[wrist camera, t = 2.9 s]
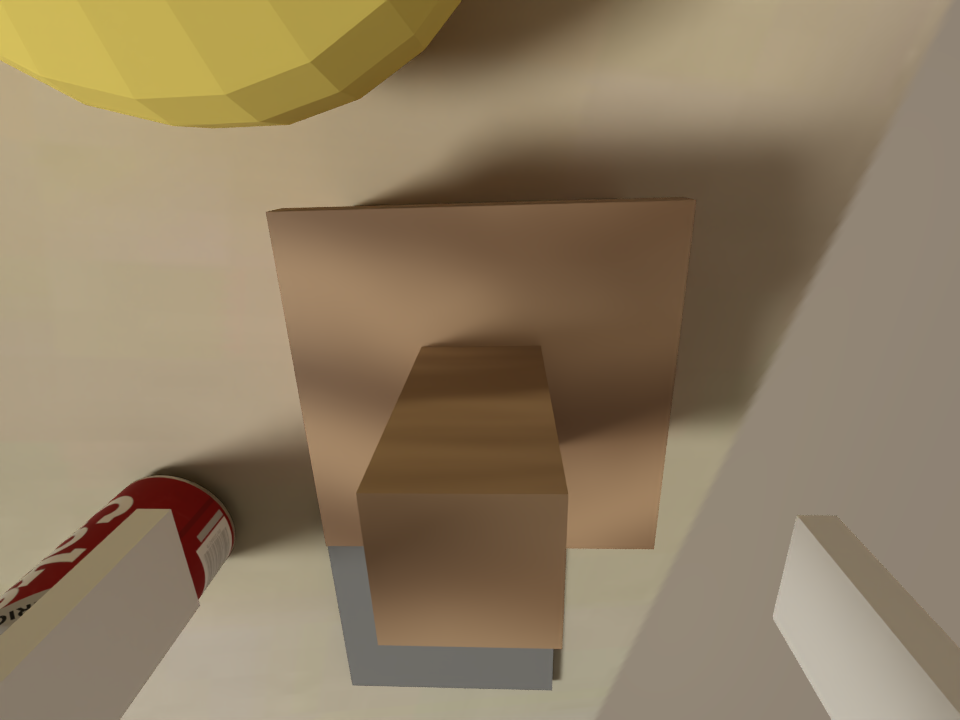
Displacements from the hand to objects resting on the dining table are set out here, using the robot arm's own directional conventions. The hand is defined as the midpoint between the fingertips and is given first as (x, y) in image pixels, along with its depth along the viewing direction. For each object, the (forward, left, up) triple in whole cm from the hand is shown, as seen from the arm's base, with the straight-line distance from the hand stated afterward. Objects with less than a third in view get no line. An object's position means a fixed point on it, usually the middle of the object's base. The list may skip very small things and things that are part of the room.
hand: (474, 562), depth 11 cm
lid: (0, 0, -9) cm, 9 cm away
